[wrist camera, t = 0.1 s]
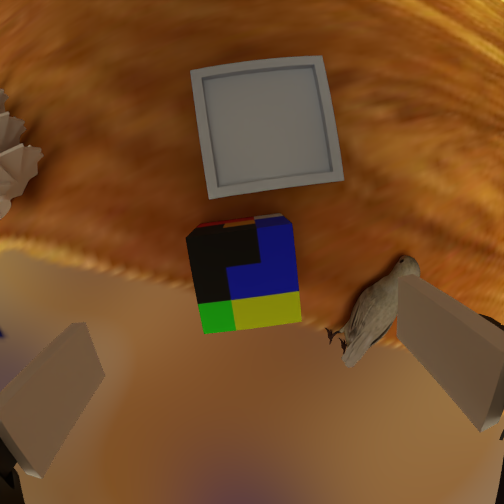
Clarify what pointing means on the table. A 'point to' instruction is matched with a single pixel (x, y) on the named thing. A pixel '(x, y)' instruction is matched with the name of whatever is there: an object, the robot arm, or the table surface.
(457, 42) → the table surface
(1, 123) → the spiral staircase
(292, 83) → the tray
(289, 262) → the puzzle toy
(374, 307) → the decorative bird
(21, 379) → the robot arm
